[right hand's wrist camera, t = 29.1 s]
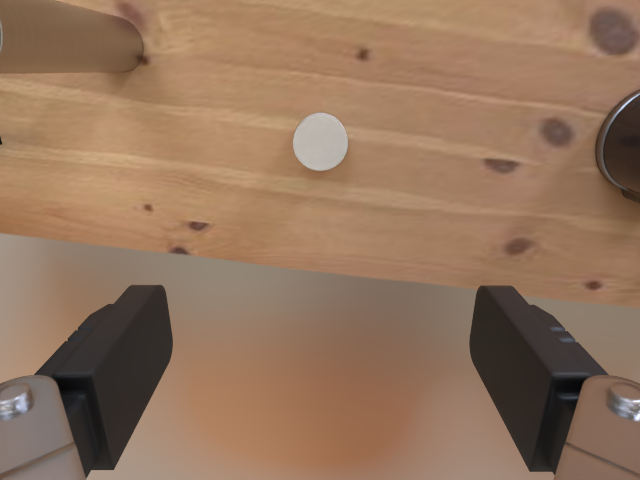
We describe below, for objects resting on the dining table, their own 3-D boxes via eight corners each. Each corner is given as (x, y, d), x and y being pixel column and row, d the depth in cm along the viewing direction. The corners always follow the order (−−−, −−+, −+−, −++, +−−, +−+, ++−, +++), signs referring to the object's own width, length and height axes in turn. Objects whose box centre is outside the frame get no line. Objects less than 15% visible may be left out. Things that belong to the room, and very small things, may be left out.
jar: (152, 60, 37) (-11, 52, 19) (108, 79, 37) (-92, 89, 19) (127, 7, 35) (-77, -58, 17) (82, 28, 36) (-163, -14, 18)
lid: (285, 125, 39) (283, 128, 37) (334, 103, 38) (335, 105, 36) (307, 173, 40) (306, 179, 38) (354, 153, 40) (356, 158, 37)
